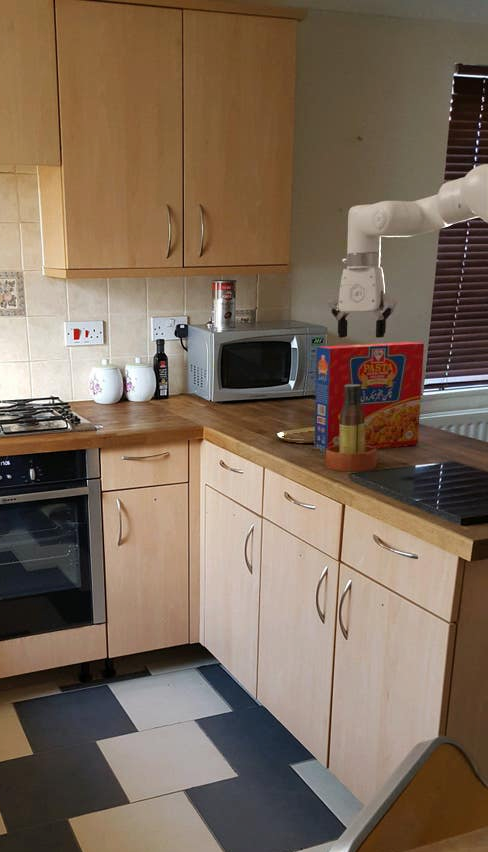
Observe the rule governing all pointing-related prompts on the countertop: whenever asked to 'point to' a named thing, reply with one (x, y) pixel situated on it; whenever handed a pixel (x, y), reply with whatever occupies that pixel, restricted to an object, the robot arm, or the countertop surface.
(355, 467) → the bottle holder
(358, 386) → the sauce bottle
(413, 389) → the pasta box
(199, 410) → the countertop surface
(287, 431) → the serving platter
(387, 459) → the countertop surface
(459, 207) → the robot arm
